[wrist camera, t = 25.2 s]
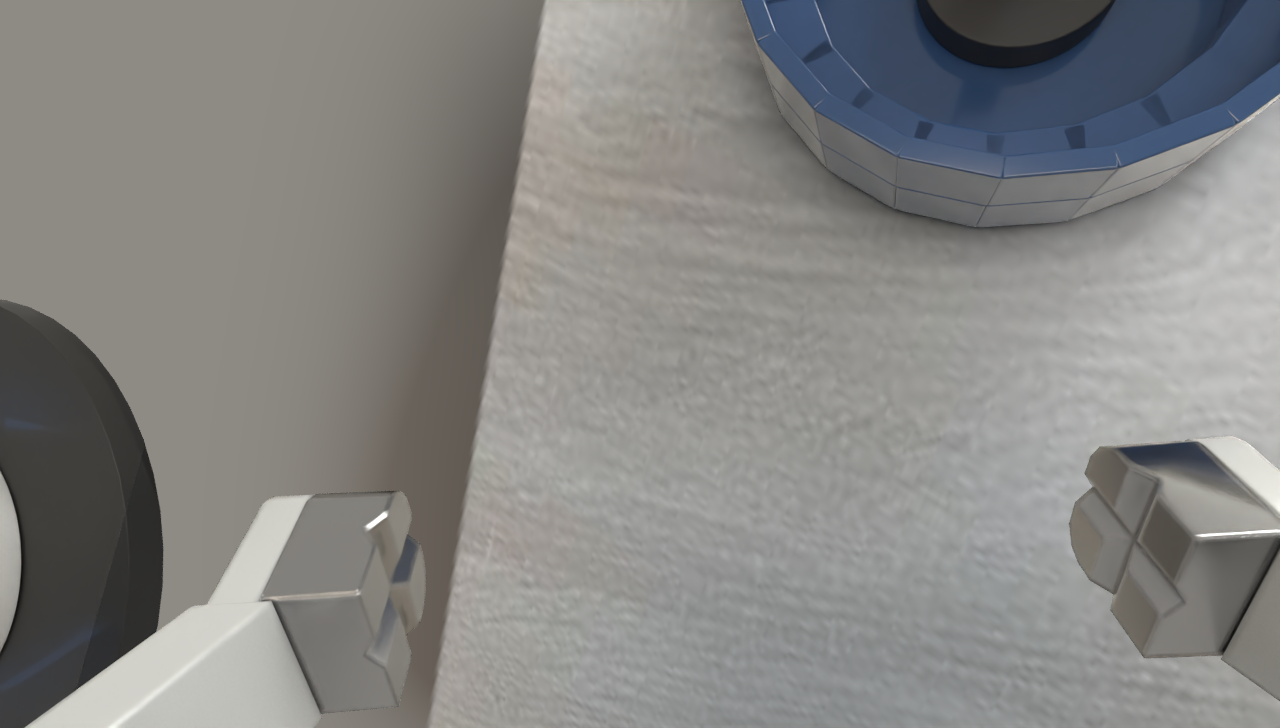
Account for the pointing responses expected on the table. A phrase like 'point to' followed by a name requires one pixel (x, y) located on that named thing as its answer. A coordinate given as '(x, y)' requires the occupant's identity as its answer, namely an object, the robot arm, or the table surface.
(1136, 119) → the mixing bowl
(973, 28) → the peg stand
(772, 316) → the table surface
